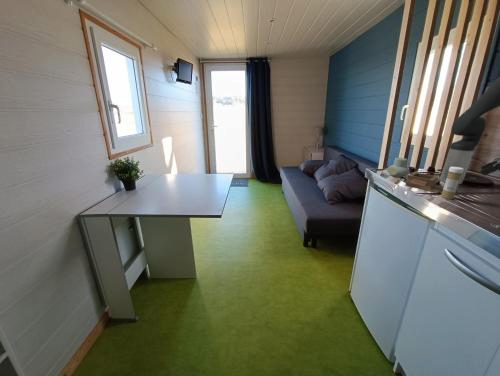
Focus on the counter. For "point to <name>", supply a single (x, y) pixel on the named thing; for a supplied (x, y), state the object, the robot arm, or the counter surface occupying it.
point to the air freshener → (398, 168)
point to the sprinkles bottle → (452, 182)
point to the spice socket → (423, 182)
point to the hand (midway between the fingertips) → (482, 171)
